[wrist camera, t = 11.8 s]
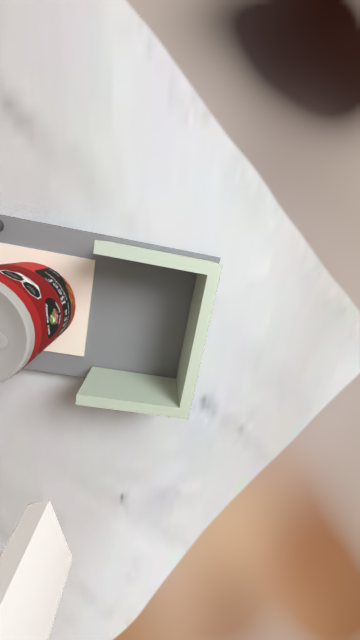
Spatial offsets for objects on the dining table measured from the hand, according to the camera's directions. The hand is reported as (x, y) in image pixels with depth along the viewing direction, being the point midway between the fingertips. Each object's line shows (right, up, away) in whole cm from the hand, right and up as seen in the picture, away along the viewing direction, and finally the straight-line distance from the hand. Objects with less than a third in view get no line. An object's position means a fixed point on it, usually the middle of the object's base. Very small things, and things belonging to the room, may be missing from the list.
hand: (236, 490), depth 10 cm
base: (-10, +7, +20) cm, 24 cm away
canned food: (-16, +8, +18) cm, 26 cm away
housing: (-5, +6, +20) cm, 21 cm away
